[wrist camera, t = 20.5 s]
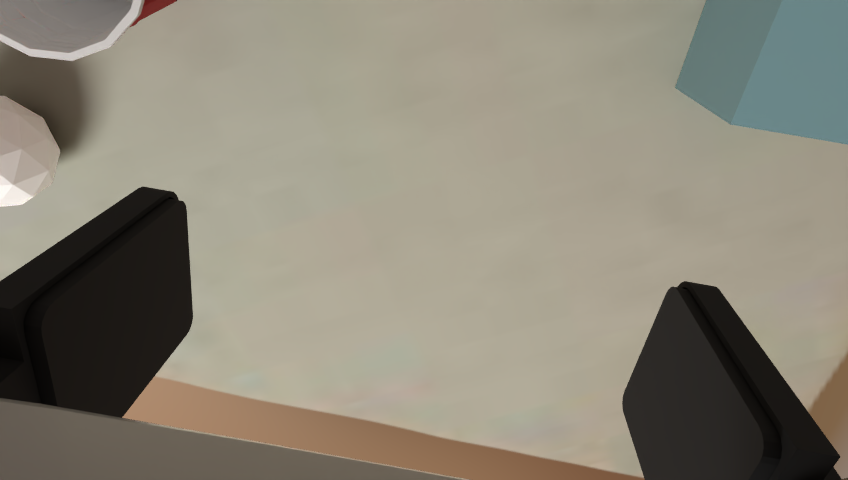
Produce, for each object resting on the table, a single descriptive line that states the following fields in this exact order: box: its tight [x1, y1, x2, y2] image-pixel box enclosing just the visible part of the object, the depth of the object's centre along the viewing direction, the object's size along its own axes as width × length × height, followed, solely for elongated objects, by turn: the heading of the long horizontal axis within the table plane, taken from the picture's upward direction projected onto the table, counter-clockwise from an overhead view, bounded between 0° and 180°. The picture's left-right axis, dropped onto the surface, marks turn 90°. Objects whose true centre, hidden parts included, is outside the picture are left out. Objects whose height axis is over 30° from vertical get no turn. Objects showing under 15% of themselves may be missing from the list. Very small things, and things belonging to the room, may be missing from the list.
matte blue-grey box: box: [675, 0, 848, 144], centre depth 30 cm, size 8×8×9 cm
